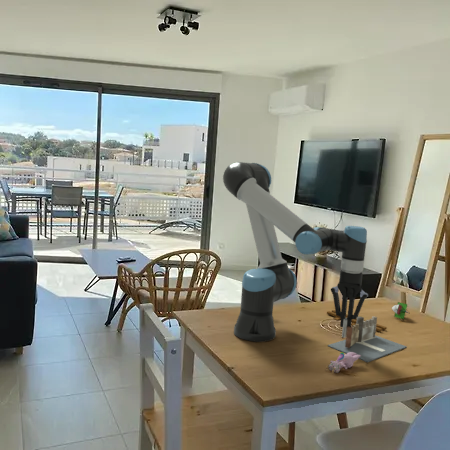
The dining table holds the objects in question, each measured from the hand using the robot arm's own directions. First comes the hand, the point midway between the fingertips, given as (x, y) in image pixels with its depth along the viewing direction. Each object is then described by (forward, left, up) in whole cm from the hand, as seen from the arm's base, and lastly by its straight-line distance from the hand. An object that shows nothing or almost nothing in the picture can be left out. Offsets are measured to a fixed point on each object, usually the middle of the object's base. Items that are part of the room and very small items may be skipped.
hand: (344, 336), depth 166 cm
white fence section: (+13, 0, -3) cm, 13 cm away
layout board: (+8, -5, -4) cm, 10 cm away
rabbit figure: (-15, -11, -4) cm, 19 cm away
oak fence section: (+2, -2, -3) cm, 4 cm away
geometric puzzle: (+52, +8, -4) cm, 53 cm away
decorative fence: (+28, +14, -5) cm, 31 cm away
